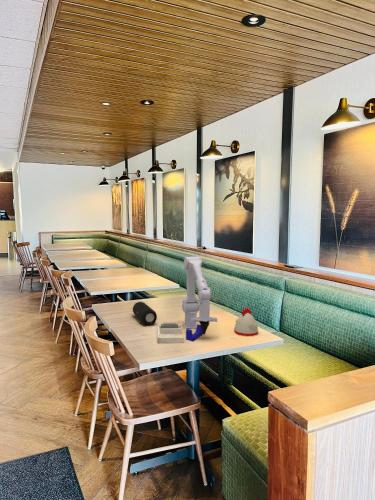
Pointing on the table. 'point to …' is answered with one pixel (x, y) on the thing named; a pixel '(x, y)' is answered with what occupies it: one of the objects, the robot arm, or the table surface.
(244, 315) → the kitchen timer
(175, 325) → the seated twin plug
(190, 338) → the cable clip
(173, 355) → the table surface
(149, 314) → the portable speaker
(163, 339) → the beige tray
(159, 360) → the table surface
